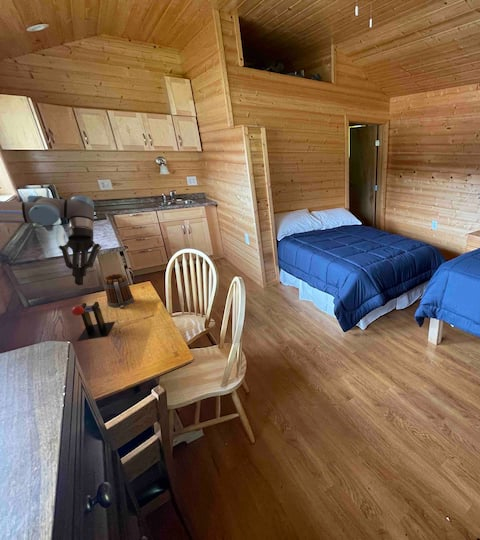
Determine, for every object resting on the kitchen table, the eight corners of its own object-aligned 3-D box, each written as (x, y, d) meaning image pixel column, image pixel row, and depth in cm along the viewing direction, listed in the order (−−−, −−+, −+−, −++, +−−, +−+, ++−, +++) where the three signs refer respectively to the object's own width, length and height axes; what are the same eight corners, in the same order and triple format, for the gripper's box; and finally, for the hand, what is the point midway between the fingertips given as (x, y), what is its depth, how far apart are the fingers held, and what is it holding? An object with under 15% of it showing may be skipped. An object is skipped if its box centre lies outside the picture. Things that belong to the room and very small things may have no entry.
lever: (82, 314, 112) (81, 305, 112) (70, 316, 111) (69, 306, 111) (97, 311, 125) (96, 303, 125) (86, 313, 124) (85, 304, 124)
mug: (107, 302, 151) (99, 275, 145) (133, 297, 157) (126, 271, 152) (109, 316, 140) (101, 287, 134) (137, 309, 147) (130, 282, 141)
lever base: (108, 338, 125) (99, 309, 120) (77, 343, 121) (67, 314, 116) (115, 323, 135) (108, 296, 130) (87, 327, 131) (78, 299, 126)
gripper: (104, 234, 129) (103, 285, 122) (65, 236, 124) (61, 289, 117) (97, 225, 123) (96, 278, 116) (55, 227, 118) (51, 282, 110)
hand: (78, 283), depth 116 cm, fingers closed
